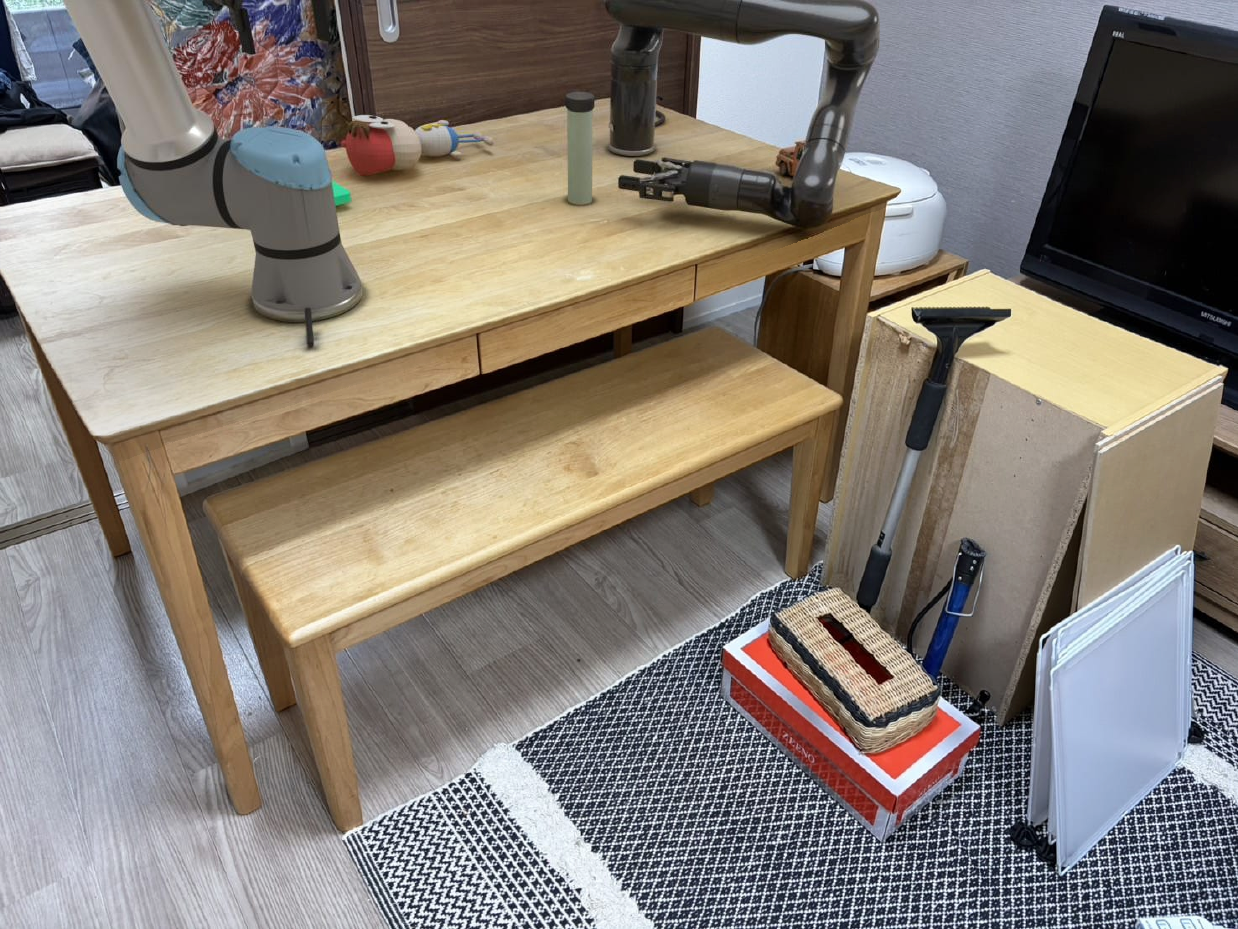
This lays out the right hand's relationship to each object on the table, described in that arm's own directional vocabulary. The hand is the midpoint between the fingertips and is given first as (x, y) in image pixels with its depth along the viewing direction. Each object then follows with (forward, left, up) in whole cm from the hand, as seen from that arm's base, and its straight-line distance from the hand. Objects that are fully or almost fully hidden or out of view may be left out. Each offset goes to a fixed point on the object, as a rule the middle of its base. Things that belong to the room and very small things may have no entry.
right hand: (626, 173), depth 162 cm
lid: (0, -9, +12) cm, 15 cm away
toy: (-7, -45, -6) cm, 46 cm away
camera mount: (+19, -51, -6) cm, 55 cm away
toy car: (-27, +27, -6) cm, 39 cm away
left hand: (+18, -52, +20) cm, 59 cm away
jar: (0, -9, -6) cm, 11 cm away
